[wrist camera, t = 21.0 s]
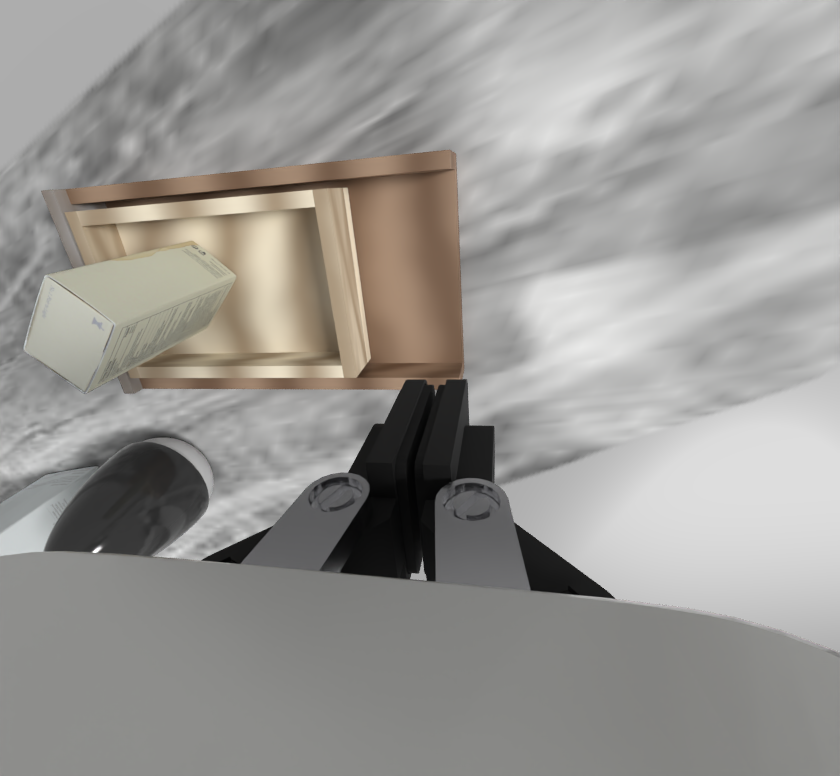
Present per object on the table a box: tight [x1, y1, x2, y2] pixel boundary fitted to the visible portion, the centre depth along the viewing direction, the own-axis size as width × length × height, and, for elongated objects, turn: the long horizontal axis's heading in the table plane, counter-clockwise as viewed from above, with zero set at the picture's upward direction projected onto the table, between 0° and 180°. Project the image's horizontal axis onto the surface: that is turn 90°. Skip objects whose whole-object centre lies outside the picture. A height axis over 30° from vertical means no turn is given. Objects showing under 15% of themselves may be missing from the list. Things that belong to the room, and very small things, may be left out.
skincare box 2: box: [23, 241, 236, 394], centre depth 29 cm, size 6×4×12 cm
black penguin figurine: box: [43, 438, 214, 557], centre depth 40 cm, size 10×10×15 cm
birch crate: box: [64, 188, 371, 378], centre depth 33 cm, size 20×13×4 cm, turn 95°
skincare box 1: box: [0, 466, 99, 556], centre depth 44 cm, size 8×6×15 cm
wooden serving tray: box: [41, 150, 464, 394], centre depth 33 cm, size 29×16×5 cm, turn 95°
